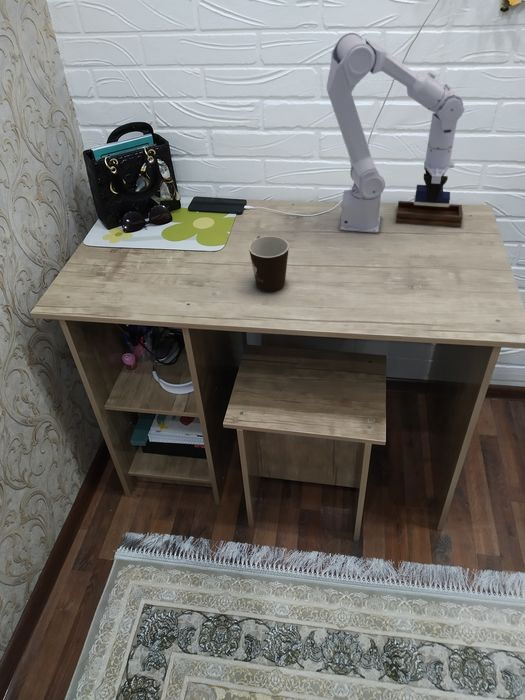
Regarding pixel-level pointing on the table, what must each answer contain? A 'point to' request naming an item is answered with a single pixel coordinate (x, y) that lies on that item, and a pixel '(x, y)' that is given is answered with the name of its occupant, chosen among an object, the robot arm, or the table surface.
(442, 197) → the dark blue stepped block
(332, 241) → the table surface
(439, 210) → the wooden serving tray
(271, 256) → the coffee mug
